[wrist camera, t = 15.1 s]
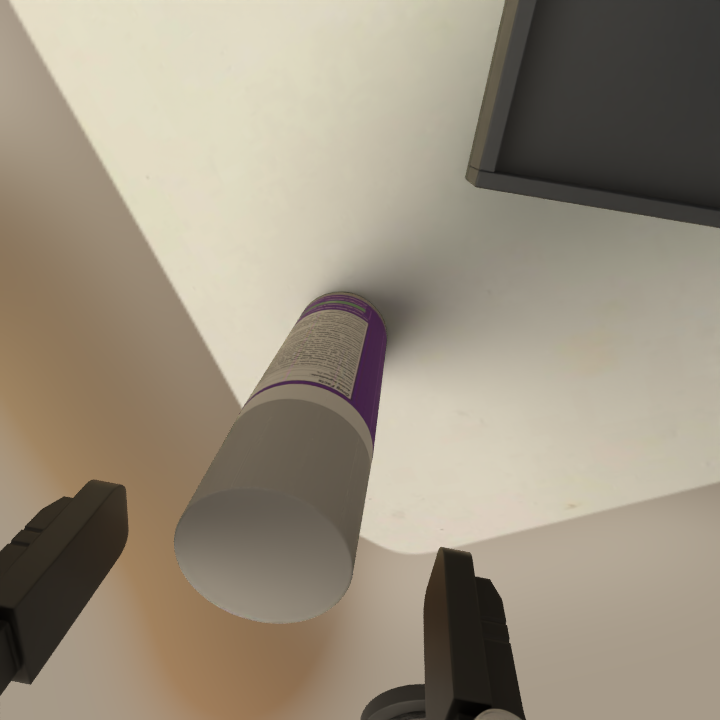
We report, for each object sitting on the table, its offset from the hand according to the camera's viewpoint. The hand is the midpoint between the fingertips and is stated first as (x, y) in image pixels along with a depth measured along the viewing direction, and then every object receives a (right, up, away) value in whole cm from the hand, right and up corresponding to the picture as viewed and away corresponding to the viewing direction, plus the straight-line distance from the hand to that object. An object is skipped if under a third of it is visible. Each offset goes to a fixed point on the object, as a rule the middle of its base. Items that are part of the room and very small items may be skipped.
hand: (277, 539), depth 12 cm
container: (+1, +6, +13) cm, 15 cm away
